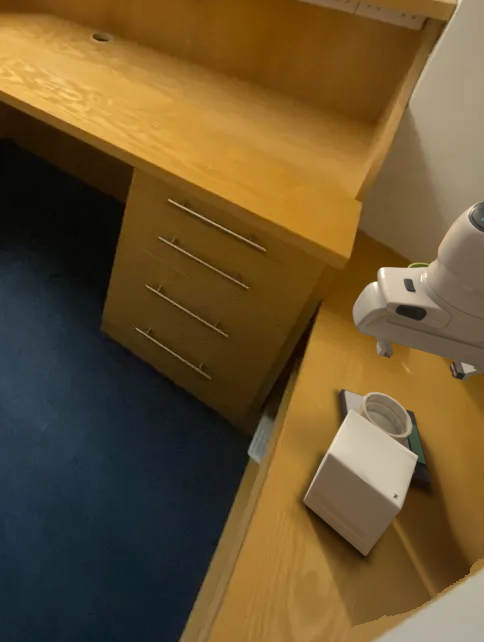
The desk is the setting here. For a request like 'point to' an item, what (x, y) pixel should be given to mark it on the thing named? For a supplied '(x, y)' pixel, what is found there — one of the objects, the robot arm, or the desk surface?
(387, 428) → the bowl
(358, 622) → the desk surface
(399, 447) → the rectangular carton
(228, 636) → the desk surface
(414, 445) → the scale
